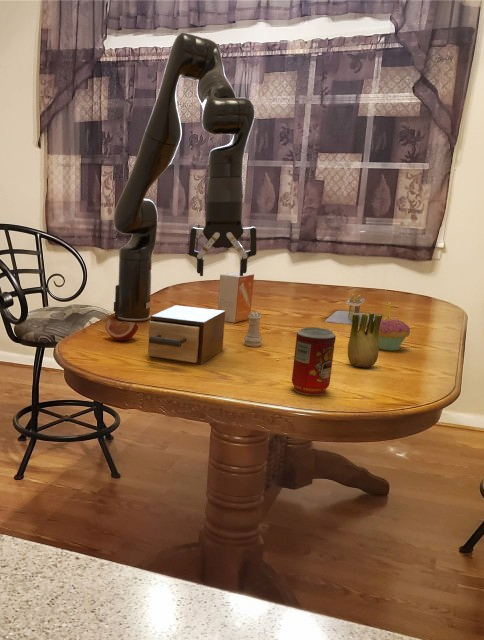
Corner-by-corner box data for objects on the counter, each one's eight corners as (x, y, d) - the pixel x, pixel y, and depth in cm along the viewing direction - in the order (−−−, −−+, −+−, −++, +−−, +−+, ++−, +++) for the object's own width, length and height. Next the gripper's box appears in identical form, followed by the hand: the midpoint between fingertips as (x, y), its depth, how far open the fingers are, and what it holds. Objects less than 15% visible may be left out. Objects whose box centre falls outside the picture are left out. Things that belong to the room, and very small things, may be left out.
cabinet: (201, 364, 152) (204, 322, 149) (149, 356, 158) (150, 315, 155) (222, 350, 164) (225, 310, 161) (173, 343, 170) (175, 305, 167)
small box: (235, 323, 192) (238, 276, 188) (216, 319, 196) (219, 274, 192) (250, 319, 197) (254, 273, 193) (231, 315, 201) (235, 271, 197)
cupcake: (390, 354, 161) (398, 303, 157) (360, 346, 168) (367, 297, 164) (414, 350, 165) (422, 300, 161) (384, 342, 172) (391, 294, 168)
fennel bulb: (343, 365, 152) (350, 312, 148) (352, 361, 155) (359, 309, 151) (370, 371, 148) (378, 316, 144) (378, 366, 151) (386, 312, 148)
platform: (324, 321, 194) (327, 298, 192) (337, 310, 209) (340, 289, 207) (369, 326, 188) (373, 302, 186) (379, 314, 203) (382, 292, 201)
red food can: (317, 399, 130) (325, 336, 126) (283, 390, 135) (290, 329, 131) (335, 391, 134) (343, 330, 131) (302, 383, 139) (308, 324, 136)
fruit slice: (100, 339, 174) (100, 320, 172) (114, 334, 179) (115, 315, 177) (128, 344, 169) (129, 324, 167) (142, 339, 174) (143, 320, 172)
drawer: (187, 368, 146) (189, 332, 144) (138, 360, 152) (140, 326, 150) (215, 349, 161) (218, 316, 159) (170, 342, 167) (172, 311, 165)
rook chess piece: (262, 343, 170) (265, 311, 168) (261, 347, 166) (264, 315, 164) (243, 341, 172) (246, 310, 169) (242, 346, 168) (244, 314, 165)
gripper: (258, 198, 148) (253, 273, 152) (190, 199, 150) (188, 273, 155) (260, 199, 141) (255, 278, 145) (189, 200, 143) (187, 278, 148)
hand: (221, 275), depth 150 cm, fingers open, 8 cm apart
